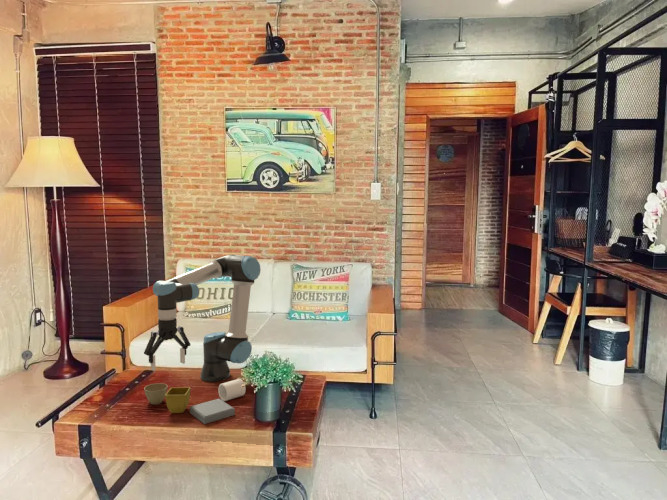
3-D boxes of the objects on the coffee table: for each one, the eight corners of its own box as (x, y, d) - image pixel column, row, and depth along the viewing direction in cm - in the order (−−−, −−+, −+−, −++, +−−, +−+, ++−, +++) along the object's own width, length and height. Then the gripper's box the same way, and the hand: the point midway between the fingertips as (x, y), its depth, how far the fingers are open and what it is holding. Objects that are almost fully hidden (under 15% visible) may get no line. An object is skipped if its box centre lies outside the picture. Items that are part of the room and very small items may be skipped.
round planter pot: (160, 407, 212) (159, 392, 211) (139, 405, 214) (139, 390, 213) (172, 399, 222) (171, 384, 221) (152, 397, 224) (152, 382, 223)
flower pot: (165, 415, 205) (164, 394, 204) (171, 406, 213) (170, 387, 213) (185, 415, 205) (185, 394, 204) (191, 406, 214) (190, 387, 213)
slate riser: (219, 404, 216) (219, 397, 216) (234, 414, 206) (234, 408, 206) (189, 412, 207) (189, 406, 207) (204, 424, 197) (204, 417, 197)
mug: (245, 397, 225) (245, 381, 224) (227, 403, 218) (227, 386, 217) (231, 390, 233) (231, 374, 232) (213, 395, 226) (213, 379, 226)
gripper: (189, 312, 217) (189, 358, 219) (134, 321, 199) (136, 371, 201) (197, 315, 212) (198, 361, 214) (143, 324, 194) (144, 375, 196)
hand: (168, 366), depth 207 cm, fingers open, 13 cm apart
